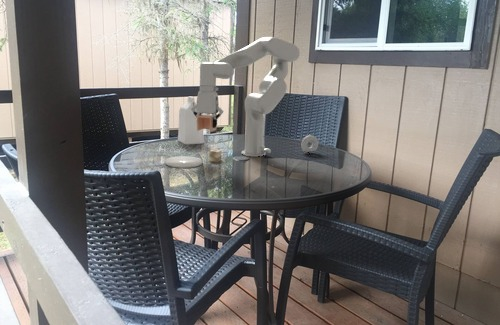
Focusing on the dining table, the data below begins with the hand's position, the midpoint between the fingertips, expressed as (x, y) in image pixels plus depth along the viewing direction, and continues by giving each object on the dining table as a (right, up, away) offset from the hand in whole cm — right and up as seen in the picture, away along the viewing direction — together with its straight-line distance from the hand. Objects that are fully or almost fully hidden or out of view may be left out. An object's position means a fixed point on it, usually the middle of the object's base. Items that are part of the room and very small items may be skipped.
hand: (206, 126), depth 201 cm
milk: (-14, -6, +42) cm, 45 cm away
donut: (+53, -13, +25) cm, 60 cm away
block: (+4, -17, +1) cm, 17 cm away
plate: (-10, -18, -7) cm, 21 cm away
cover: (0, -2, 0) cm, 2 cm away
